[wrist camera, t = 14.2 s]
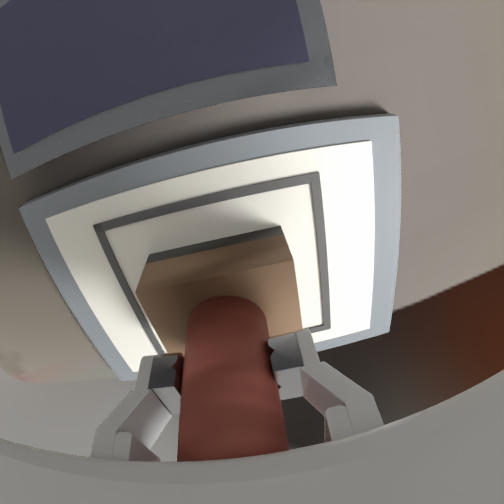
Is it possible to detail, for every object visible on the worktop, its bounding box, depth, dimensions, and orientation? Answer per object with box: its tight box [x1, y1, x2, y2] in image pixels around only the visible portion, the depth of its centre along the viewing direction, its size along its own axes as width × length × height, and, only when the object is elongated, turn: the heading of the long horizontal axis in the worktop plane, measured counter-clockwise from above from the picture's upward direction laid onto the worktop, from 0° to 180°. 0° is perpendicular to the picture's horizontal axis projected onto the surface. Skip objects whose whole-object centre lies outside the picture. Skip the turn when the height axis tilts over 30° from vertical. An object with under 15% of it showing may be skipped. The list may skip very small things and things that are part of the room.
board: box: [18, 113, 401, 381], centre depth 15 cm, size 18×13×1 cm
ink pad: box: [0, 0, 337, 180], centre depth 8 cm, size 14×9×2 cm, turn 101°
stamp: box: [135, 226, 303, 462], centre depth 11 cm, size 6×5×9 cm
